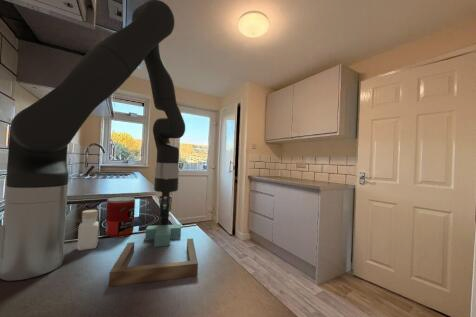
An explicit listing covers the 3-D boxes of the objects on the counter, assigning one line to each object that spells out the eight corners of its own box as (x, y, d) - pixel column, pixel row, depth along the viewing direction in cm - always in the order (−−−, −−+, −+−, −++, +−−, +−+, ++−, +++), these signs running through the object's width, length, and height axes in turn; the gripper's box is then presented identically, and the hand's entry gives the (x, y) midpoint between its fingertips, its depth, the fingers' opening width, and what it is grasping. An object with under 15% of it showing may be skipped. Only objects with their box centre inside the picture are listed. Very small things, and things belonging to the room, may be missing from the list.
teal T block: (142, 247, 54) (142, 236, 54) (147, 235, 64) (147, 225, 64) (180, 244, 57) (181, 233, 57) (180, 233, 67) (180, 224, 67)
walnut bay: (108, 286, 37) (109, 272, 37) (127, 252, 51) (127, 242, 51) (197, 275, 42) (197, 263, 42) (192, 247, 56) (192, 238, 56)
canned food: (121, 239, 60) (123, 201, 60) (98, 236, 61) (100, 199, 62) (138, 231, 67) (140, 197, 68) (118, 228, 69) (120, 196, 69)
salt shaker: (97, 243, 56) (99, 208, 56) (96, 249, 53) (98, 212, 53) (79, 245, 54) (81, 209, 54) (76, 251, 51) (79, 213, 51)
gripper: (156, 175, 73) (154, 223, 73) (152, 177, 61) (149, 236, 60) (178, 175, 76) (176, 222, 75) (178, 178, 63) (176, 234, 62)
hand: (164, 228), depth 68 cm, fingers closed
